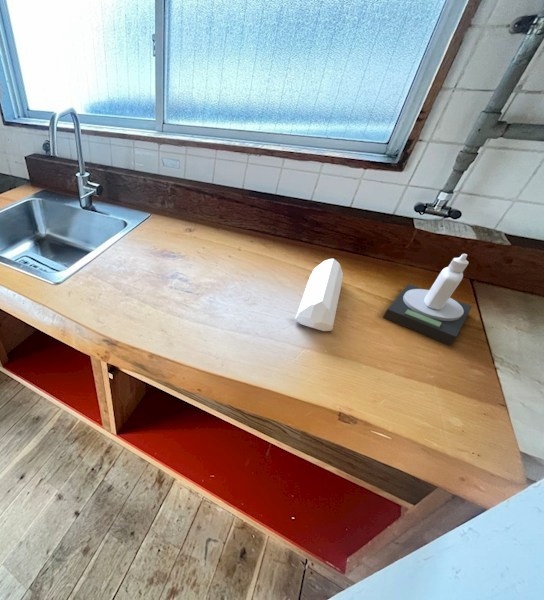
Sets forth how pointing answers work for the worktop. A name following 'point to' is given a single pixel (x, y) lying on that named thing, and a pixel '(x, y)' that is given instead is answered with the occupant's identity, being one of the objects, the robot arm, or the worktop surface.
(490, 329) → the worktop surface
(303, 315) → the chamfered white bar
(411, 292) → the kitchen scale
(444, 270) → the eye dropper bottle
